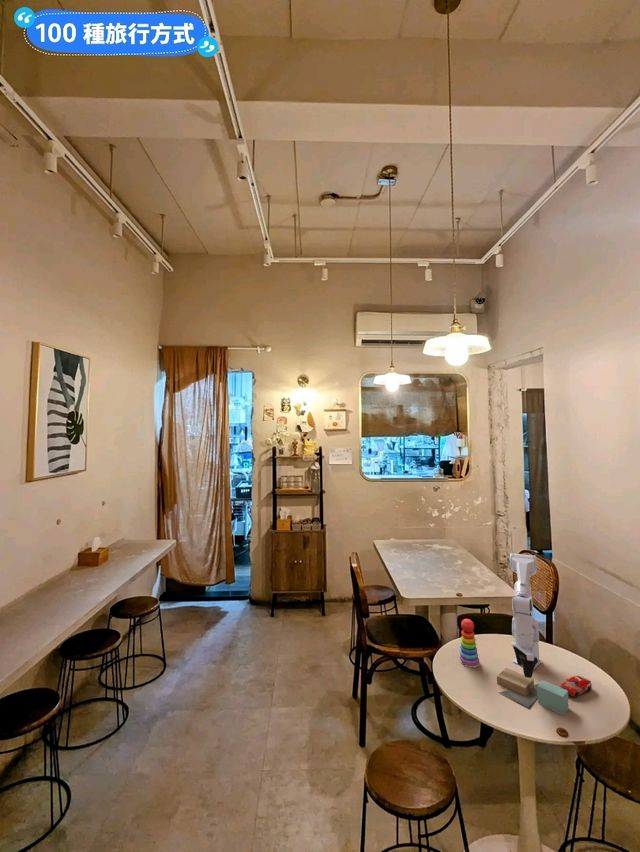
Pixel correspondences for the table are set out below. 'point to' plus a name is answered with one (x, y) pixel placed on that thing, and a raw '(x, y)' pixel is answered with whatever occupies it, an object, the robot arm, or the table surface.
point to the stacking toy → (468, 644)
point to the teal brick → (553, 697)
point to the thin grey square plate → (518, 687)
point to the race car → (577, 685)
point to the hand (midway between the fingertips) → (524, 670)
